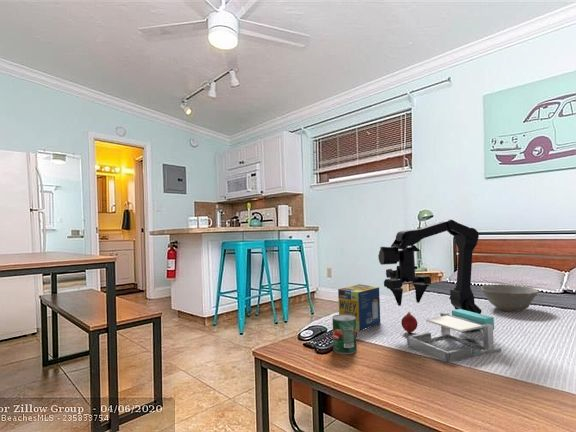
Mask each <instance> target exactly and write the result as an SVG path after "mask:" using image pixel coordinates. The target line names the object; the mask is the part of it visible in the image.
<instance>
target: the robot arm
mask: <svg viewBox="0 0 576 432" xmlns="http://www.w3.org/2000/svg"><path fill="white" fill-rule="evenodd" d="M444 232H448V234H450V235H451V236H453V237H454V242H455V244H456V247H457V249H458V253H457V254H458V255H457V258H458V259H457V270H456V272H457V273H456V285H455V287H454V289H451V288H450V289H449V297H448V299H449V300H450V303H451V305H452V306H453V307H454V310H456V309H462V310H466V311H470V312H474V313H478V314H482V312H483V310H482V309H481V308H480V307H479V306H478V305H477V304H476V303H475V295H474V292H473V291H472V288H471V283H472V268H473V267H472V266H473V253H474V251H475V250H474V249H475V248H476V247H477V246H478V241H479V237H480V236H479V235H480V234H479V231H478V230H477V229H475V228H474V227H469V226H467V225H464V224H462V223H459V222H457V221H455V220H453V219H444V220H442V221H439V222H436V223H433V224H430V225H427V226H423V227H420V228H417V229H407V230H400V231H398V232H396V235H395V239H394V241H393V242H392V244H391V245H390V246H380V248H379V252H378V257H377V258H378V262H379V264H380V265H382V266H383V265H396V269H394V270H393V268H388V269H387V268H386V269H385V276H386V278H385V279H384V281H383V287H384V288H386V289H387V290H390V292H391V293H392V294H393V297H394V299H395V301H396V304H397V306H398V307H400V306H401V305H402V302H403V293H404V291H403V290H404V289H403V288H402V287H403V285H412V286H413V287H414V292H415V301H416V303H417V304H419V303H420V302H421V300H422V299H423V298H422V297H423V296H424V294H425V291H426V290H427V288H428V287H430V285H431V284H432V279H431V277H430V276H429V275H422V274H420V275H419V274H418V275H416V270H418V266H417V265H416V264H415V252H420V251H421V250H420V249H419V248H418V247H417V246H416V244H418V243H420V242H421V241H422V240H424V239H425V238H429V237H431V236H436V235H438V234H441V233H444ZM397 264H398V265H397ZM476 331H477V332H478V331H481V330H480V329H473V330H468V331H467V332H469V333H473V332H476Z"/></svg>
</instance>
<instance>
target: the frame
mask: <svg viewBox="0 0 576 432" xmlns="http://www.w3.org/2000/svg"><path fill="white" fill-rule="evenodd" d="M439 314H440V317H441V316H446V315H447V314H449V315H450V312H446V311H445V312H440V313H439ZM482 327H483V330H482V340H478V339H475V338H472V337H470V336H466V335H463V334H460V333H458V332H455V331H451V329H449V328H446V327H443V326H440V329H441V330H440V331H441V332H440V333H441V334H440V335H439V334H438V335H433V336H432V333H431V332H429V331H428V332H424V333H423V332H422V333H419V334H413V335H409V336H406V344H407V345H406V346H407V347H409V348H412V349H415V350H417V351H418V352H419V351H420V352H422V353H424V354H426V355H428V356H430V357H432V358H435V359H438V360H440V361H442V362H443V363H446V364H452V363H455V362H460V361H462V360H463V361H464V360H467V359H471V358H472V359H475V358H478V357H482V356H485V355H492V354H496V353H500V352H502V347H500V346H497V345H495V344H494V343H495V342H494V330H493V325H491V324H483V325H482ZM443 338H444V339H451V338H452V339H451V340H454V341H458V342H461V343H463V344H466V345H468V344H469V346H465V347H461V348H458V349H453V350H448V351H447V350H445V349H443V348H440V347H437V346H434V345H432V344H430V343H431V342H434V340H435V341H439V340H444V339H443ZM438 339H439V340H438ZM471 345H472V346H471ZM474 346H475V347H474ZM472 347H474V348H477V349H479V350H477V351H473V352H472Z"/></svg>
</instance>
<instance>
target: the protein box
mask: <svg viewBox="0 0 576 432" xmlns="http://www.w3.org/2000/svg"><path fill="white" fill-rule="evenodd" d="M337 292H338V293H337V294H338V296H337V297H338V315H339V314H348V315H353V316H355V317H356V332H361V330H362V331H364V330H366V329H365V328H367V329H369V328H371V327H370V326H372V327H374V326H373V325H375V324H377V325H379V324H378V323H380V324H381V302H380V299H381V298H380V287H379V286H378V287H377V286H374V285H366V284H356V285H351V286H348V287H343V288H338V290H337ZM375 326H376V325H375ZM368 327H369V328H368ZM363 329H364V330H363Z"/></svg>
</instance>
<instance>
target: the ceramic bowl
mask: <svg viewBox="0 0 576 432" xmlns="http://www.w3.org/2000/svg"><path fill="white" fill-rule="evenodd" d="M480 289H481V291H482V292H483V293H484V296H485V298H486V300H488V302H489V303H490V304H491V305H493V307H495V308H497V309H498V310H500V311H502V312H508V313H512V312H515V313H517V312H522V311H525V310H526V309H528V308H529V307H530V306H531V303H532V302H533V300H534V299H535V298H536V296H537V295H538V294H539V293H540V290H539V289H537V288H535V287H530V286H524V285H516V284H515V285H513V284H486V285H482V286H480Z"/></svg>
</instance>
